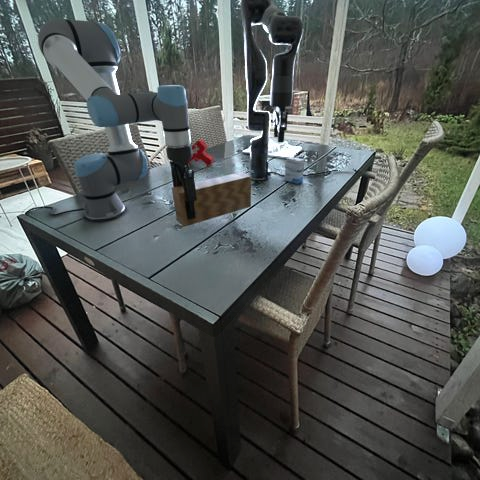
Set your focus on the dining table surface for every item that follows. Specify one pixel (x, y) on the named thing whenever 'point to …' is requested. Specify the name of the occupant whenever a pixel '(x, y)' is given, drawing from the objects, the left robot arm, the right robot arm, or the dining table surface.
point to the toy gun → (201, 153)
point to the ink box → (294, 170)
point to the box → (214, 198)
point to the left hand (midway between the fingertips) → (187, 214)
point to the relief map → (280, 150)
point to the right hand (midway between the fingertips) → (278, 139)
